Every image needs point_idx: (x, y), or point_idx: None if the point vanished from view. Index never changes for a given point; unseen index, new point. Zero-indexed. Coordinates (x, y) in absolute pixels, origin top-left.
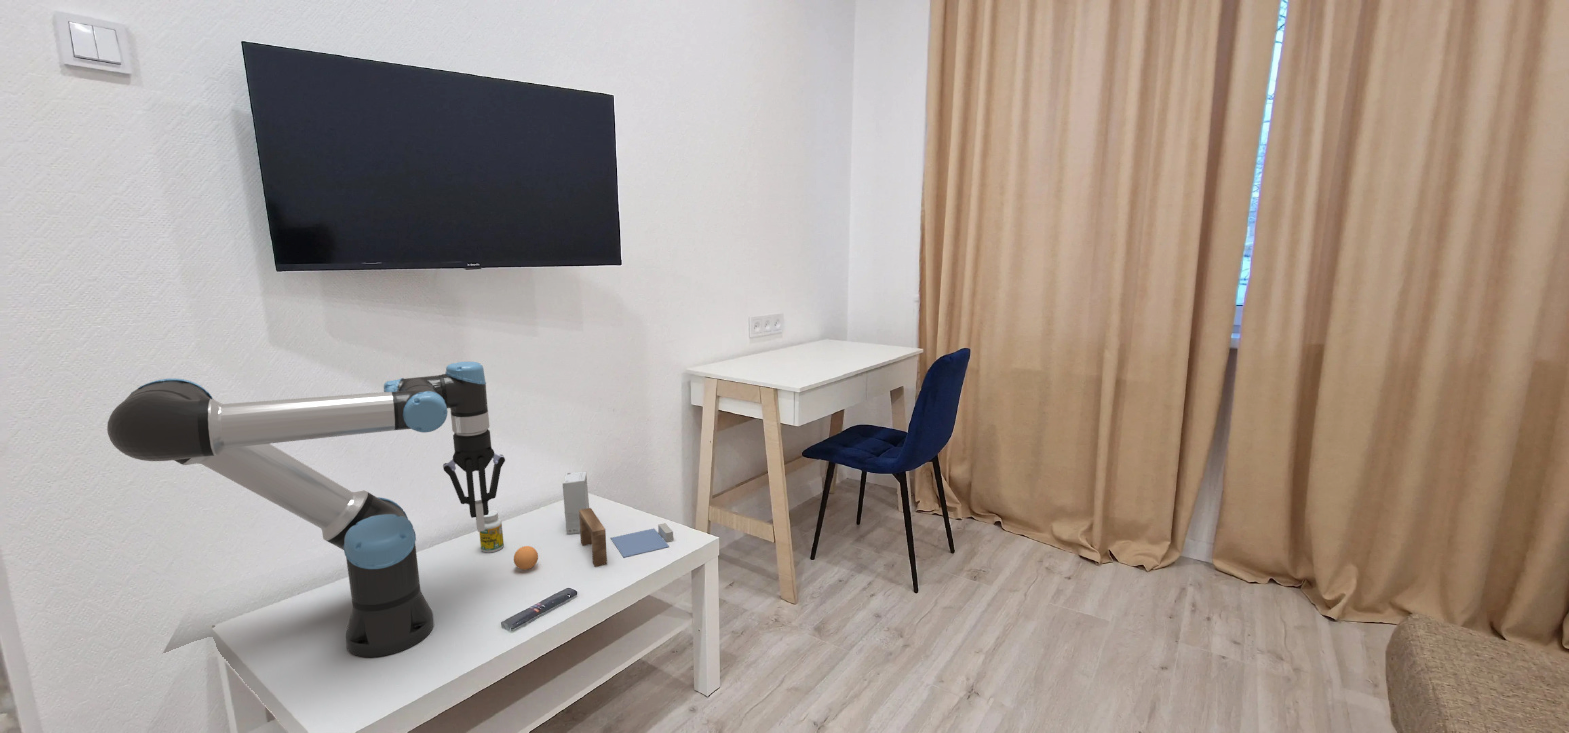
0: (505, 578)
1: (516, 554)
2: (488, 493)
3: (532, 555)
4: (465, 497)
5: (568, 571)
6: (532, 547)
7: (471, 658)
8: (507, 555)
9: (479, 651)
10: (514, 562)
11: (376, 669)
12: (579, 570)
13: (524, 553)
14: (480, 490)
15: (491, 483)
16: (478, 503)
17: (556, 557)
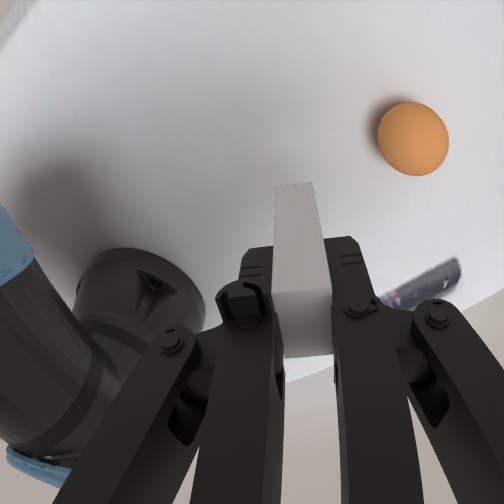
0: (343, 164)
1: (395, 154)
2: (402, 364)
3: (434, 170)
4: (205, 386)
5: (477, 192)
6: (445, 144)
7: None
8: (349, 20)
9: (286, 370)
10: (379, 147)
11: None
12: (494, 198)
13: (418, 171)
14: (340, 405)
15: (457, 439)
16: (306, 341)
17: (473, 104)
